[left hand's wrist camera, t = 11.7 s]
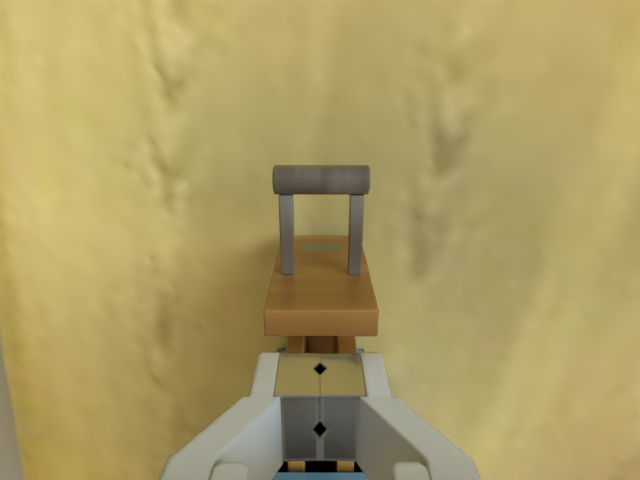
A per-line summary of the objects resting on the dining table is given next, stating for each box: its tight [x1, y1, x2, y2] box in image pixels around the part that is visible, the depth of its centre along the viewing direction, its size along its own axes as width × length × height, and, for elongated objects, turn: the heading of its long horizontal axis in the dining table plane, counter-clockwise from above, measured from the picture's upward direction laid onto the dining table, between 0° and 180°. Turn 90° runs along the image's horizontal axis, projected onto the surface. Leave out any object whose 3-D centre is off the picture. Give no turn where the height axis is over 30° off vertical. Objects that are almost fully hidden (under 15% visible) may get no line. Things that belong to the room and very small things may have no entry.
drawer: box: [264, 165, 379, 472], centre depth 23 cm, size 23×4×8 cm, turn 0°
